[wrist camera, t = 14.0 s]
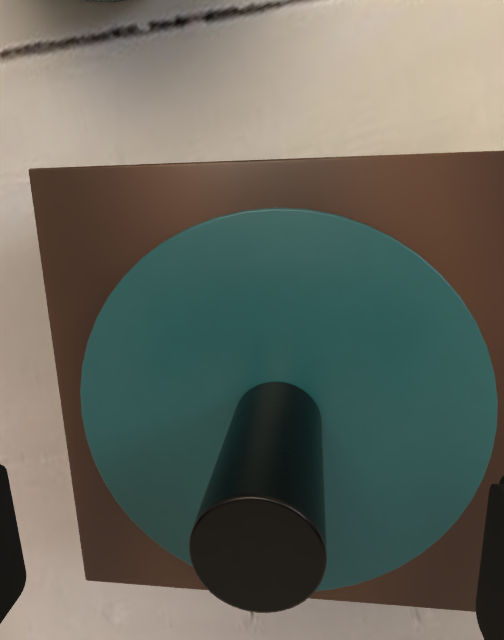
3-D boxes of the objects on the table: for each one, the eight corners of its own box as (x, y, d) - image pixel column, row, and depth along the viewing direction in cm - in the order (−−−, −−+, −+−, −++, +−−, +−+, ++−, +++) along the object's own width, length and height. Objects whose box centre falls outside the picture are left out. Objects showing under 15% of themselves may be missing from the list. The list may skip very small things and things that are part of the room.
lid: (114, 554, 17) (1, 760, 11) (73, 211, 14) (-117, 224, 8) (465, 580, 16) (567, 836, 9) (506, 201, 13) (698, 205, 6)
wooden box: (147, 476, 25) (85, 581, 18) (119, 177, 21) (27, 168, 14) (446, 490, 23) (501, 614, 16) (474, 165, 19) (563, 148, 12)
